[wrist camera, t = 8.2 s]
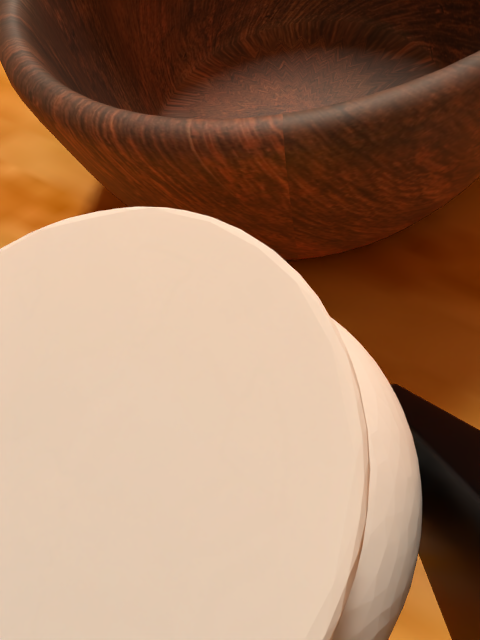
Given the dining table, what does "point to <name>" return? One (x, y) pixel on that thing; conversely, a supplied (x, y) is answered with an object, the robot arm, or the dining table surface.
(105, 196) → the dining table surface
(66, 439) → the supplement bottle
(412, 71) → the wooden bowl
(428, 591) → the dining table surface
